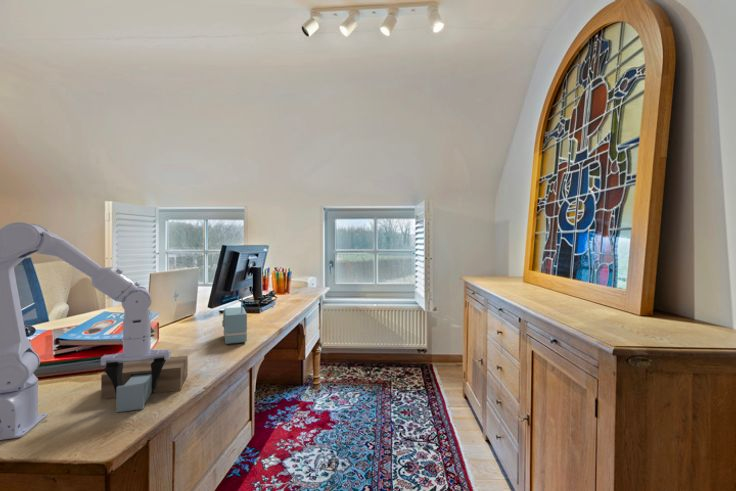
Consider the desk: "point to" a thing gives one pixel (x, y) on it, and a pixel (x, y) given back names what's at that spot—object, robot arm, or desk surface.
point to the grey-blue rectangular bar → (134, 392)
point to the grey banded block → (235, 324)
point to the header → (168, 378)
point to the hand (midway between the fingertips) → (136, 390)
